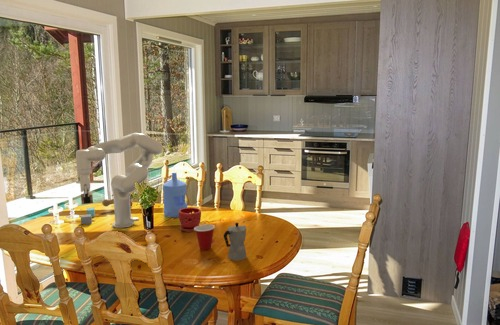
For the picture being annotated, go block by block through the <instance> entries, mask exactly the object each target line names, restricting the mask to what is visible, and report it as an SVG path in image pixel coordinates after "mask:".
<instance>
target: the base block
mask: <svg viewBox="0 0 500 325" xmlns="http://www.w3.org/2000/svg"><path fill="white" fill-rule="evenodd" d="M92 218H93V217H91V214H89V215H87V214H82V215H80V223H81V224H86V225H92V223H93V220H92Z"/></svg>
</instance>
